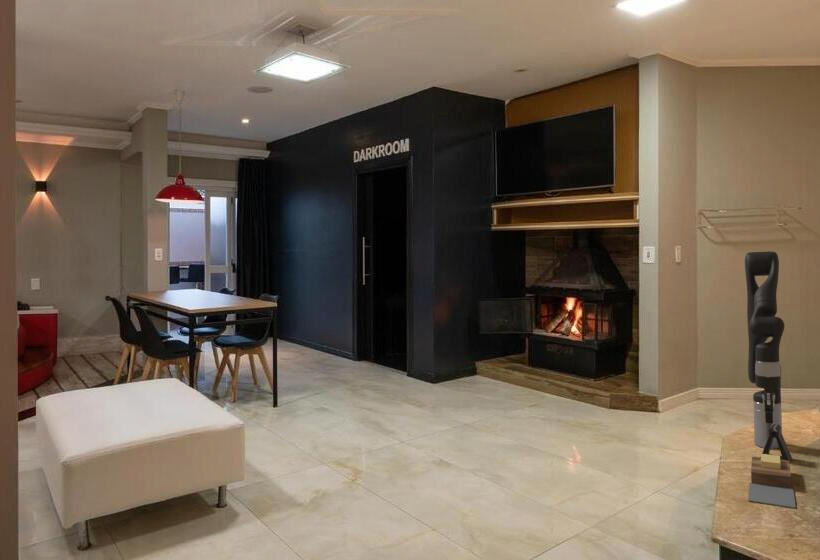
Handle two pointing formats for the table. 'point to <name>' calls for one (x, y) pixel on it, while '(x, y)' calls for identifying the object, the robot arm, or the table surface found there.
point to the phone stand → (780, 441)
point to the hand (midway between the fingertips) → (769, 422)
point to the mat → (772, 495)
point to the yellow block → (770, 461)
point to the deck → (771, 474)
